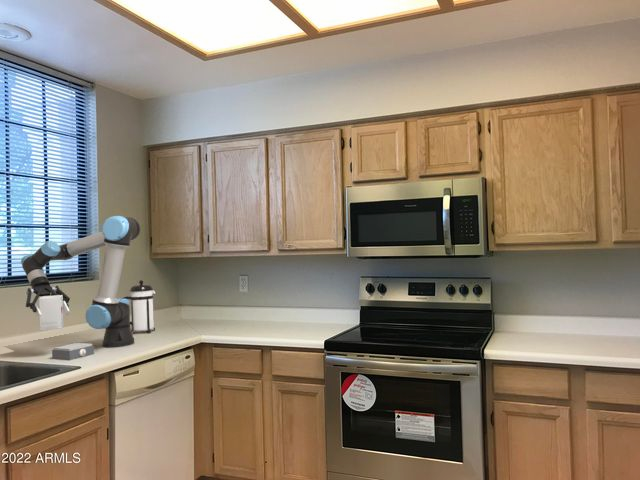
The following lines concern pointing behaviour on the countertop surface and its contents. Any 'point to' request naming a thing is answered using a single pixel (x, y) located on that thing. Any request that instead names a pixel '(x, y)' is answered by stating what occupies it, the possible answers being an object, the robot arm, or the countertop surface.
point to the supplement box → (51, 312)
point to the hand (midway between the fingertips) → (54, 314)
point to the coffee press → (141, 307)
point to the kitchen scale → (72, 351)
